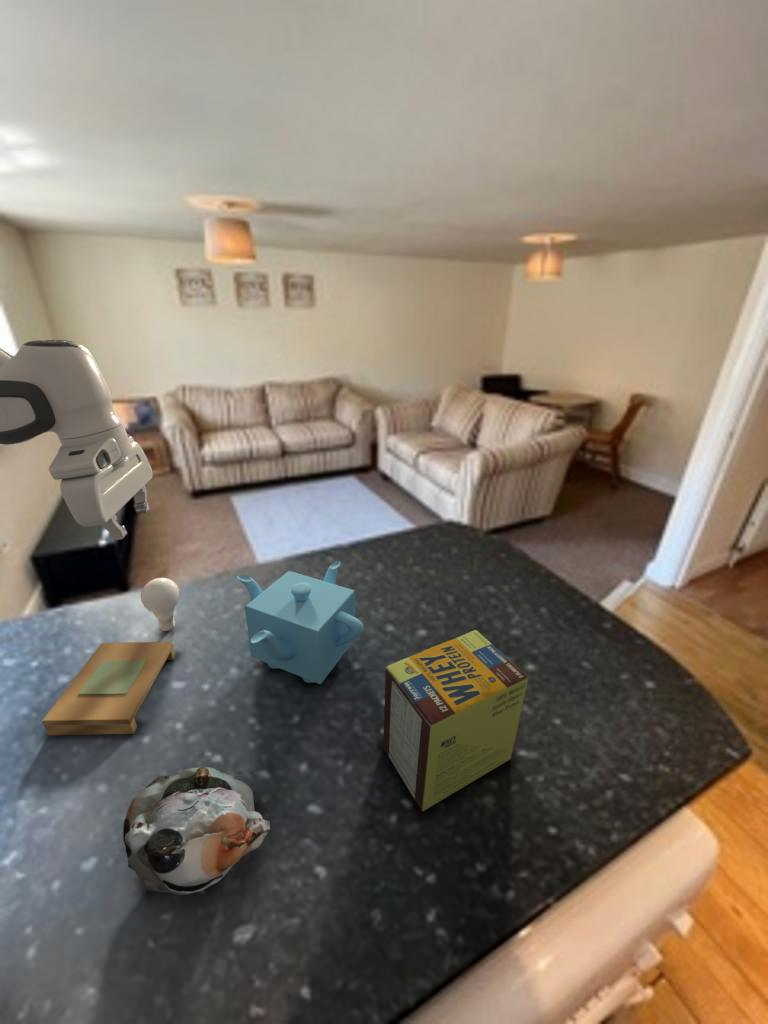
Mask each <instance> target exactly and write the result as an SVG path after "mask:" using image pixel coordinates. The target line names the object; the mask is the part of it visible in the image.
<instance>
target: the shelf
mask: <svg viewBox="0 0 768 1024" xmlns="http://www.w3.org/2000/svg"><path fill="white" fill-rule="evenodd" d="M175 657H176V652H175V648H174V642H173V641H149V642H148V641H135V642H134V641H128V642H127V641H123V642H122V641H121V642H119V641H117V642H116V641H115V642H113V641H112V642H111V641H109V642H101V643H100V645H99V646H98V647H97V648H96V650H95V651H94V652H93V653H92V655H91V656H90V657H89V659H88V660H87V661H86V662H85V664H84V665H83V667H82V668H81V669H80V670H79V672H78V673H77V674H76V676H75V677H74V679H72V681H71V682H70V683H69V685H67V687H66V689H65V690H64V691H63V692H62V694H61V695H60V697H59V698H58V699H57V701H56V702H55V703H54V704H53V706H52V707H51V709H50V710H49V711H48V712H47V714H46V715H44V717H43V719H42V720H41V722H42V725H43V727H44V729H45V731H46V734H47V735H48V736H79V735H80V736H85V735H87V736H88V735H133V734H135V732H136V730H137V728H138V725H137V722H136V718H135V717H136V716H137V713H138V711H139V710H140V708H141V706H142V705H143V703H144V700H145V699H146V697H147V695H148V694H149V692H150V689H151V688H152V686H153V685H154V683H155V681H156V679H157V677H158V675H159V673H160V672H161V670H162V668H163V666H164V664H165V663H166V661H172V660H174V658H175Z"/></svg>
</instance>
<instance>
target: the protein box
mask: <svg viewBox="0 0 768 1024" xmlns="http://www.w3.org/2000/svg"><path fill="white" fill-rule="evenodd" d="M384 674H385V678H384V707H383V708H384V709H383V735H382V736H383V737H382V749H383V751H384V753H385V754H386V756H387V758H388V759H389V761H390V762H391V764H392V766H393V767H394V769H395V770H396V772H397V774H398V775H399V778H401V780H402V782H403V783H404V785H405V787H406V788H407V790H408V791H409V793H410V795H411V797H412V798H413V800H414V801H415V803H416V805H417V806H418V807H419V809H420V811H421V812H425V811H426V810H428V809H430V808H431V807H433V806H435V805H436V804H438V803H439V802H441V801H443V800H444V799H446V798H448V797H449V796H452V795H453V794H455V793H457V791H459V790H461V789H463V788H465V787H466V786H468V785H469V784H471V783H473V782H475V781H476V780H478V779H480V778H481V777H483V776H485V775H486V774H488V773H490V772H491V771H493V770H495V769H496V768H498V767H499V766H501V765H503V764H505V763H507V762H508V761H510V760H511V759H512V756H513V751H514V745H515V743H516V737H517V733H518V729H519V724H520V719H521V714H522V710H523V706H524V700H525V696H526V691H527V686H528V682H529V675H527V674H526V673H525V672H524V671H523V670H521V669H520V668H519V667H518V666H517V665H516V664H515V663H514V662H513V661H512V660H510V659H509V658H508V657H507V656H506V655H504V653H502V652H501V651H500V650H499V649H498V648H497V647H496V646H495V645H494V644H493V643H491V642H490V641H489V640H488V639H487V638H486V637H485V636H484V635H483V634H482V633H480V632H479V631H478V630H477V629H475V630H472V631H470V632H467V633H465V634H462V635H460V636H458V637H454V638H453V639H450V640H448V641H445V642H442V643H440V644H437V645H435V646H432V647H430V648H428V649H425V650H422V651H421V652H418V653H415V654H413V655H411V656H408V657H406V658H403V659H401V660H398V661H396V662H393V663H391V664H388V665H387V666H385V673H384Z"/></svg>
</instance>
